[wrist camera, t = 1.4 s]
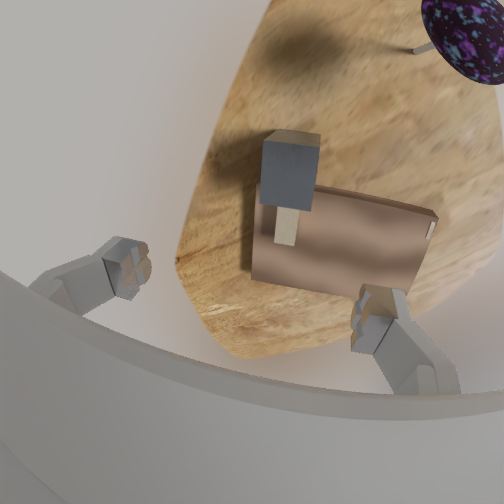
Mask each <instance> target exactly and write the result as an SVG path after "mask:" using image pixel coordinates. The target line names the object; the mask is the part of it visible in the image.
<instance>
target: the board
mask: <svg viewBox="0 0 504 504" xmlns="http://www.w3.org/2000/svg"><path fill="white" fill-rule="evenodd" d="M260 183H261V177H260V179H259V180H258V181H257V183H256V199H255V217H254V235H253V253H252V271H251V280H256V281H261V282H266V283H272V284H277V285H282V286H288V287H293V288H298V289H304V290H310V291H315V292H321V293H327V294H332V295H338V296H344V297H350V298H356V299H359V291H360V288H361V286H362V284H363V283H365V284H371V285H377V286H383V287H393V288H400V289H403V290H404V293H405V297H406V296H407V294H408V292H409V290H410V288H411V285H412V283H413V281H414V279H415V277H416V275H417V272H418V270H419V268H420V266H421V263H422V261H423V259H424V256H425V254H426V251H427V249H428V246H429V244H430V241H431V238H432V236H433V233H434V230H435V228H436V225H437V222H438V219H439V218H438V217H437V216H436V214H435V213H434V212H433V210H429V209H425V208H422V207H418V206H414V205H410V204H406V203H402V202H398V201H393V200H389V199H385V198H380V197H376V196H371V195H366V194H362V193H357V192H352V191H347V190H341V189H336V188H331V187H325V186H319V185H315V187H314V194H313V201H312V207H311V212H309V211H303V210H300V213H299V220H298V227H297V234H296V240H295V245H294V246H290V245H285V244H279V243H274V238H275V228H276V218H277V208H278V206H271V205H265V204H259V199H260Z"/></svg>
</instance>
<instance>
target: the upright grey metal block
mask: <svg viewBox="0 0 504 504" xmlns="http://www.w3.org/2000/svg"><path fill="white" fill-rule="evenodd" d="M319 150H320V134H313V133H307V132H299V131H291V130H283V129H278V130H276V131H275V132H274V133H272V134H271V135H270V136H268V137H267V138H266V139H264V140H263V150H262V167H261V183H260V199H259V204H265V205H271V206H278V208H277V218H276V228H275V238H274V243H279V244H285V245H290V246H294V245H295V240H296V234H297V227H298V220H299V213H300V210H303V211H309V212H311V207H312V201H313V194H314V187H315V180H316V173H317V166H318V158H319Z"/></svg>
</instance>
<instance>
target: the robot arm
mask: <svg viewBox="0 0 504 504" xmlns="http://www.w3.org/2000/svg"><path fill="white" fill-rule="evenodd" d="M148 252H149V250H148V246H147V244H146V243H145V242H141V241H137V240H132V239H128V238H124V237H119V236H115V237H112V238H111V239H110V240H109V241H108V242H106V243H105V244H104V245H103V246H102V247H101V248H100V249H98V250H97V251H96V252H95V253H94V254H93V255H91V256H90V255H88V256H85V257H82V258H79V259H77V260H74V261H71V262H69V263H66V264H63V265H61V266H58V267H55V268H53V269H50V270H48V271H45V272H44V273H43V274H41V275H40V276H39V277H38V278H37V279H36V280H35V281H34V282H33V283H32V284H31V285H30V286H29V287H28V288H27V287H25V286H24V285H22V284H21V283H19V282H17V281H16V280H14V279H13V278H11V277H9V276H8V275H6V274H5V273H3V272H2V271H0V504H504V390H498V391H491V392H482V393H471V394H461V390H460V385H459V380H458V376H457V371H456V367H455V365H454V364H453V363H452V361H451V360H450V359H449V358H448V357H447V356H446V355H445V353H444V352H443V351H442V350H441V349H440V348H439V347H438V346H437V345H436V343H435V342H434V341H433V340H432V339H431V338H430V337H429V336H428V334H426V332H425V331H424V330H423V329H422V328H421V327H420V326H419V325H418V324H417V323H416V322H413V321H412V319H411V315H410V311H409V308H408V304H407V300H406V297H405V293H404V290H403V289H400V288H393V287H383V286H377V285H371V284H365V283H363V284H362V286H361V288H360V291H359V299H358V300H357V301H356V302H355V304H354V307H353V310H352V314H351V328H352V329H353V333H352V335H351V351H352V352H358V353H365V354H371V355H373V357H374V358H375V360H376V362H377V364H378V365H379V367H380V369H381V370H382V372H383V374H384V375H385V377H386V379H387V381H388V382H389V384H390V386H391V388H392V389H393V391H394V394H393V395H389V394H374V393H361V392H351V391H342V390H332V389H326V388H318V387H312V386H305V385H299V384H293V383H288V382H282V381H278V380H272V379H268V378H262V377H258V376H254V375H249V374H245V373H241V372H237V371H232V370H229V369H225V368H221V367H217V366H214V365H211V364H207V363H204V362H200V361H196V360H193V359H190V358H187V357H184V356H181V355H178V354H175V353H172V352H168V351H166V350H163V349H160V348H157V347H154V346H151V345H149V344H146V343H143V342H141V341H138V340H136V339H133V338H130V337H128V336H125V335H123V334H120V333H118V332H115V331H113V330H111V329H109V328H106V327H104V326H102V325H99V324H97V323H95V322H93V321H91V320H88V319H86V318H84V317H82V316H83V315H84V314H86V313H88V312H89V311H91V310H93V309H94V308H96V307H98V306H100V305H101V304H103V303H105V302H107V301H108V300H110V299H112V298H113V297H115V296H117V297H120V298H124V299H127V300H130V301H131V300H132V299H133V298H134V296H135V295H136V294H137V293H138V292H139V290H140V289H139V286H140V285H142V284H145V283H146V282H147V280H148V279H149V277H150V274H151V268H152V266H151V261H150V260H149V259H148V257H147V254H148Z"/></svg>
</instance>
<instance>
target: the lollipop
mask: <svg viewBox="0 0 504 504" xmlns="http://www.w3.org/2000/svg"><path fill="white" fill-rule="evenodd" d="M421 12H422V19H423V23H424V26H425V29H426V31H427V33H428V35H429V37H430V39H431V42H429V43H427V44H424V45H422V46H420V47H418V48H415V49H413V53H414V54H415V55H418V54H421V53H424V52H427V51H429V50H432V49H435V48H436V49H437V50H438V51H439V53H440V54H441V55H442V57H443V58H444V59H445V60H446V61H447V62H448V63H449V64H450V65H451V66H452V67H453V68H454V69H456V70H457V71H458V72H459V73H461V74H462V75H464V76H465V77H467V78H469V79H471V80H473V81H475V82H478V83H482V84H487V85H499V84H503V83H504V7H503V6H502V5H501V4H500V3H499V2H498V1H497V0H422V5H421Z"/></svg>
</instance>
